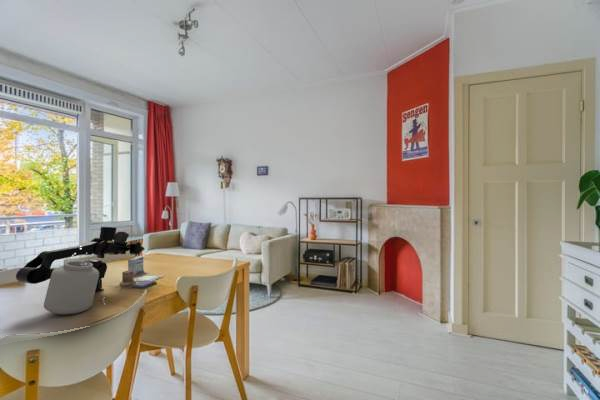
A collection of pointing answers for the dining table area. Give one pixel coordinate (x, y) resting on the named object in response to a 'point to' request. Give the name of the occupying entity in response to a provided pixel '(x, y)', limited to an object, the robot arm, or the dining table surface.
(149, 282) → the ink pad
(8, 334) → the dining table surface
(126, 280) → the stamp
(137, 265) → the medicine box
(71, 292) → the jar
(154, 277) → the mat
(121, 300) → the dining table surface
